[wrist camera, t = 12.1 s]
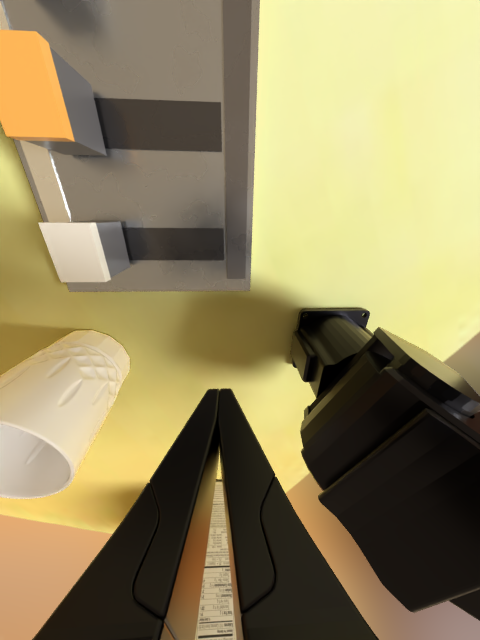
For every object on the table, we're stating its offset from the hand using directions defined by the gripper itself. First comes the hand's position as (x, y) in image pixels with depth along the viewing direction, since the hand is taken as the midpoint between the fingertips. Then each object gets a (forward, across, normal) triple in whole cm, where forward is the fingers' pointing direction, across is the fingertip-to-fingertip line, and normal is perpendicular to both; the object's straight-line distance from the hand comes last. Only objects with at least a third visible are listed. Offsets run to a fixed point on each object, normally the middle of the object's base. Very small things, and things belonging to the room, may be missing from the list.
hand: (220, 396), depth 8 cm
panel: (+12, +5, -10) cm, 17 cm away
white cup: (+12, +13, +7) cm, 19 cm away
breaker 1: (+10, +8, -11) cm, 17 cm away
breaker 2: (+10, +8, -4) cm, 13 cm away
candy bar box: (+12, +2, +35) cm, 37 cm away
